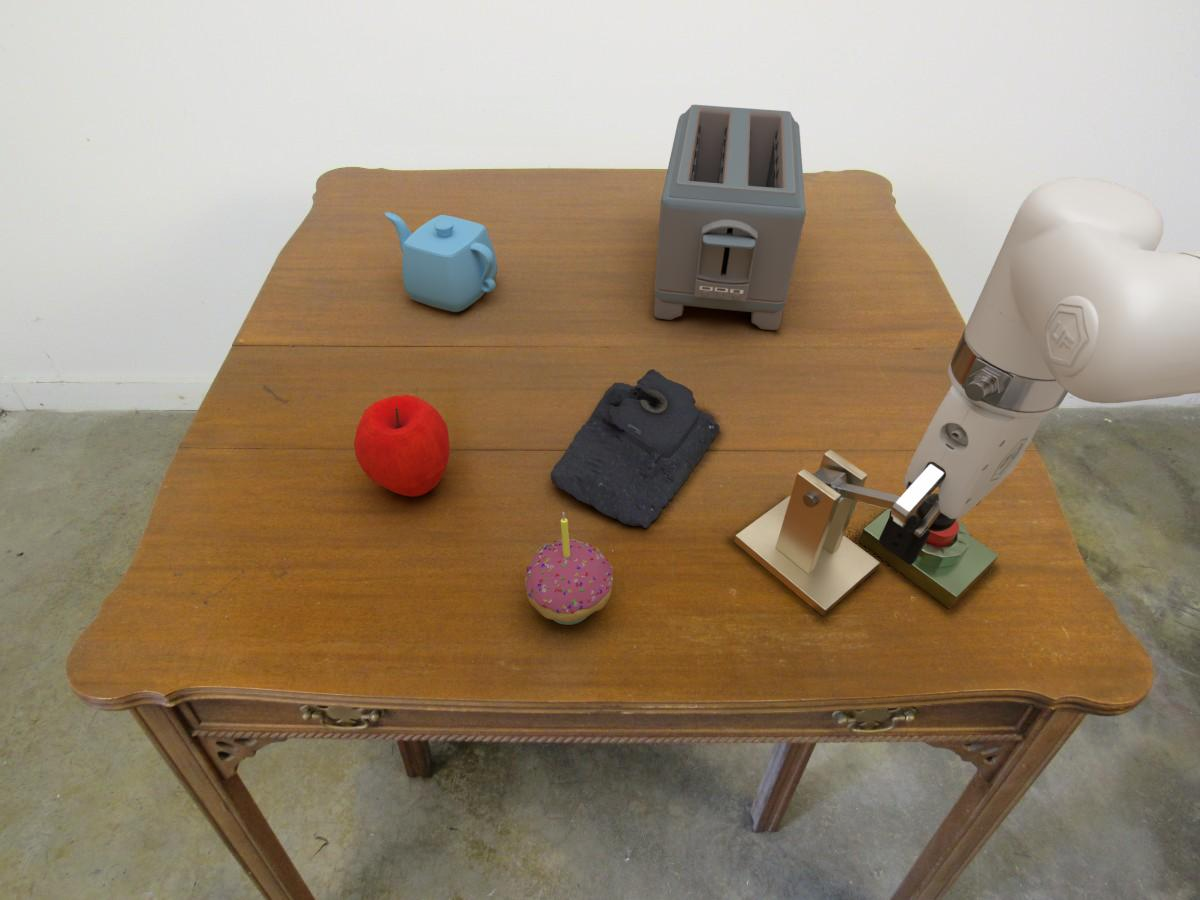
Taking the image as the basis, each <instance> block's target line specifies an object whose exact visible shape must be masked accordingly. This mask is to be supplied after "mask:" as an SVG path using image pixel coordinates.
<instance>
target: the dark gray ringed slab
mask: <svg viewBox="0 0 1200 900" xmlns="http://www.w3.org/2000/svg"><path fill="white" fill-rule="evenodd" d="M693 393H694V392H693V391H692V390H691V389H690V388H688V387H687V386H685V385H683V384H681V383H679V382H677V381H673V380H672V379H669V378H666V377H665V376H664V375H663V374H661V373H660V371H656V370H655V369H654V368H653V369H649V370H648V371H647V372H646V373H645V374H644V375H643V376H642V377H641V378H639V379H637V381H636V385H631V384H629V383H624V382H614V383H613V384H612V385H611V387H609V388H608V389H606V391H605V393H604V395H602V397H601V399H600V400H599V401H598V402H597V405H596V407H594V410H593V412H592V413H591V414H590V416H589V418H588V420H587V421H586V423H585V424H582V426H581V428H580V429H579V430H578V431H577V432H576V433H575V435H574V437H573V440H572V442H571V443H570V444H569V446H568V447H567V449H566V450H565V452H564V453H563V455H562V456H561V458H560V459H559V460H558V461H557V462H556V464H555V465H554V466H553V469H552V470H551V471H550V480H551V483H552V484H553V485H554V486H555V487H556V488H558V489H560V490H562V491H564V492H565V493H567V494H569V495H571V496H572V497H574V498H575V499H576V500H577V501H581V502H582V503H584V504H587V505H589V506H592V507H593V508H594V509H595V510H596V511H598V512H599V513H601V514H603V515H604V516H607V517H610V518H612V519H614V520H617V521H619V522H620V523H622V524H624V525H630V526H632V527H643V528H644V529H646V528H648V527H649V526H651V524H652V522H654V521H655V520H656V519H657V518H658V517H659V515H660V514H661V513H662V510H663V509H664V508H666V507H667V506H668V504H669V502H670V501H671V500H672V499H673V498H674V496H675V495H677V494H678V492H679V491H680V490H681V488H682V486H683V485H684V484H685V483H686V481H688V479H689V476H690V475H691V473H692V472H693V471H694V469H695V468H696V467H697V465H698V464H699V462H700V461H701V460H702V458H703V457H704V455H705V453H706V451H707V450H710V448H711V444H713V442H714V440H715V439H716V437H717V435H718V434H719V432H720V425H719V423H717V422H716V421H714V420H713V419H714V416H713V415H712V414H710V413H707V412H704V411H702V410H699V409H698V408H697V406H696V399H695V397H694V394H693Z"/></svg>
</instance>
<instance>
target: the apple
mask: <svg viewBox="0 0 1200 900" xmlns="http://www.w3.org/2000/svg"><path fill="white" fill-rule="evenodd" d="M354 435H355V436H354V441H353V447H354V453H355V459H356V461H357V462H358V465H359V466H360V468H361V469H362V471H363V472H364V473H365V475H366V476H367V477H368V478H369V479H370V480H371V481H373V482H374V483H376V484H378V485H379V486H382V487H383V488H385V489H386V490H389V491H391V492H393V493H395V494H398V495H401V496H404V497H411V498H413V497H420V496H423V495H425V494H428V492H430V491H432V490H433V489H434V488H435V487H437V485H438V484H439V483H440V481H441V480H442V478H443V476H444V474H445V472H446V470H447V466H448V462H449V458H450V455H451V453H450V452H451V451H450V449H451V448H450V447H451V446H450V437H449V436H450V435H449V430H448V425H447V423H446V422H445V420H444V418H443V417H442V415H441V413H440V412H439V411H438V410H437V409H436V408H435V407H434V406H432V404H430V403H429V402H427V401H425V400H424V399H422V398H420V397H419V396H415V395H409V394H399V395H393V396H388V397H385V398H382V399H379V400H377V401H374V402H373V403H372V404H371V405H369V406H368V407H367V408H366V409H364V411H363V413H362V415H361V418H360V420H359V422H358V424H357V427H356V431H355V434H354Z"/></svg>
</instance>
